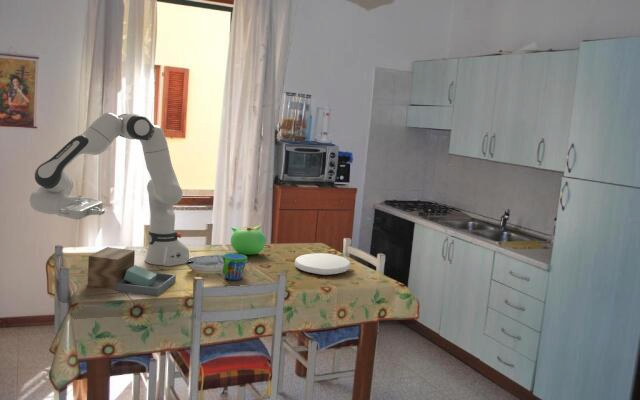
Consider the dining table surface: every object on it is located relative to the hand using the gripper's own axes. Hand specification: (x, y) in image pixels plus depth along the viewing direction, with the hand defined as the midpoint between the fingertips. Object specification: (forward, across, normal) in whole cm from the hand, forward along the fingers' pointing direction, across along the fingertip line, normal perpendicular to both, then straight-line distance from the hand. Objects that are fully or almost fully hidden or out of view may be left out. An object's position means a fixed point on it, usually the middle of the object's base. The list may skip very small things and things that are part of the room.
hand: (103, 212), depth 243 cm
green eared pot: (+47, +68, +29) cm, 88 cm away
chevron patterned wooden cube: (+7, -2, +28) cm, 29 cm away
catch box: (+22, -2, +27) cm, 34 cm away
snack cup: (+51, +23, +26) cm, 62 cm away
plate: (+88, +56, +26) cm, 107 cm away
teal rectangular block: (+14, -2, +22) cm, 26 cm away
